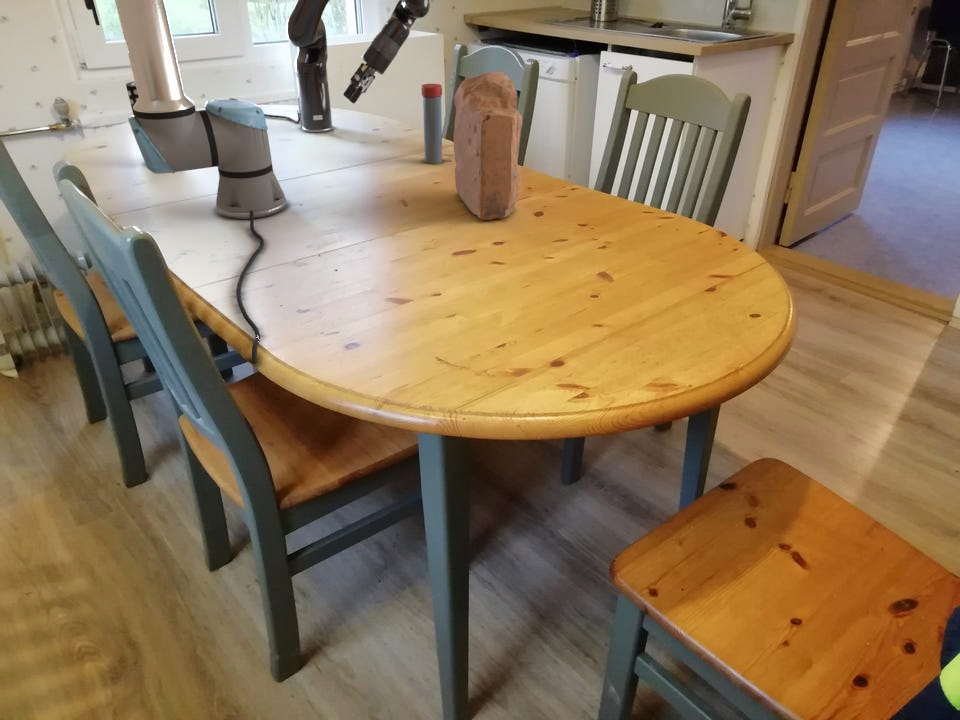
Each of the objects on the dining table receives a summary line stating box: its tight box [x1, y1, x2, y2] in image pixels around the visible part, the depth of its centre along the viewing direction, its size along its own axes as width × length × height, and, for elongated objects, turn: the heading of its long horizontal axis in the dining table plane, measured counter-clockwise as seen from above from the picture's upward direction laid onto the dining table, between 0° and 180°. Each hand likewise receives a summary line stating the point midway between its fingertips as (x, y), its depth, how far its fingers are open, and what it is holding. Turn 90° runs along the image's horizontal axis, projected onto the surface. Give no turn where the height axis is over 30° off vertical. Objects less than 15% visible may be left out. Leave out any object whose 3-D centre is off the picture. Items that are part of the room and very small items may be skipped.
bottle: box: [422, 96, 443, 165], centre depth 185 cm, size 5×5×19 cm
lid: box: [421, 83, 443, 97], centre depth 180 cm, size 5×5×2 cm
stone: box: [453, 71, 523, 221], centre depth 154 cm, size 22×11×28 cm, turn 18°
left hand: (128, 23), depth 171 cm, fingers open, 13 cm apart
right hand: (348, 99), depth 202 cm, fingers open, 8 cm apart
